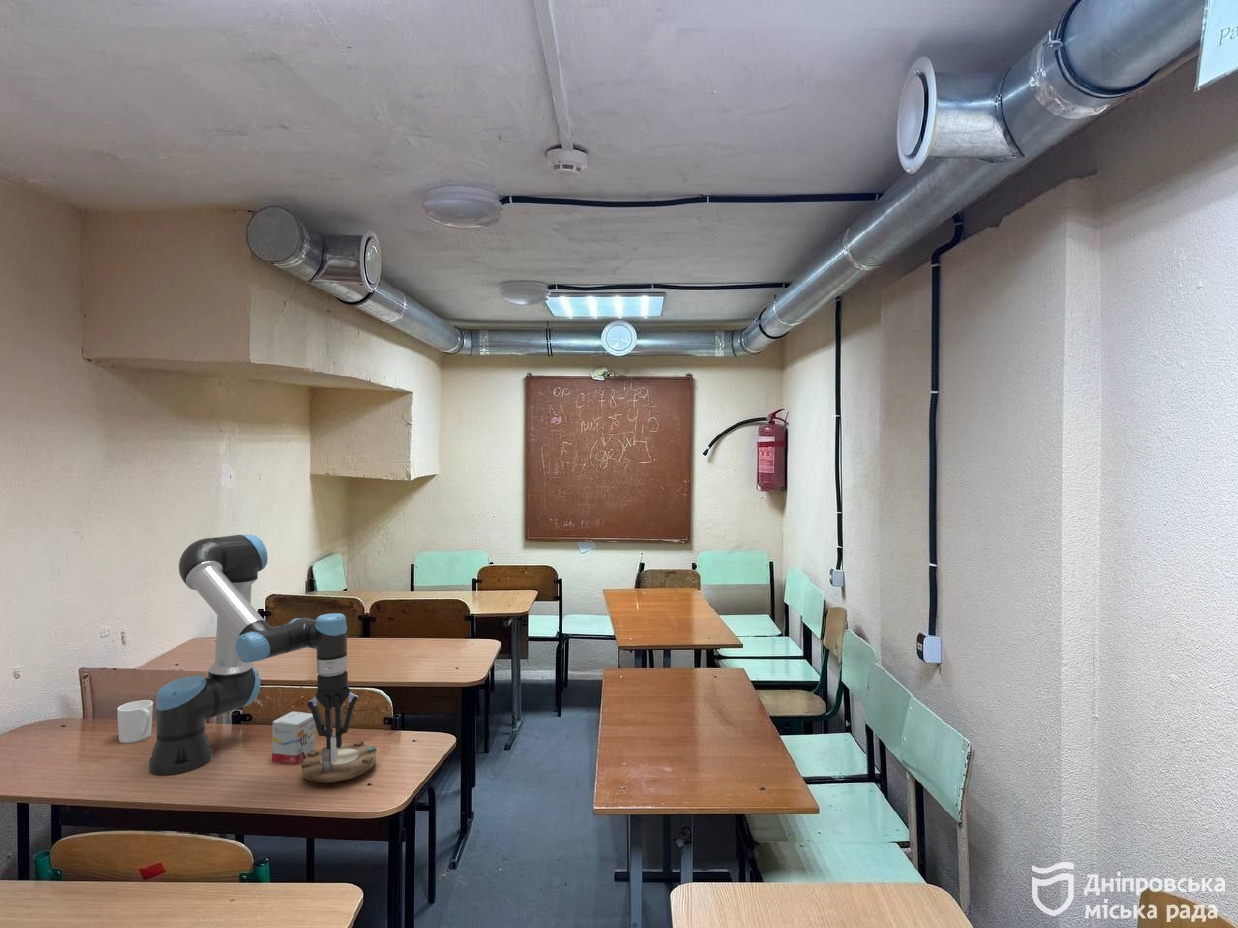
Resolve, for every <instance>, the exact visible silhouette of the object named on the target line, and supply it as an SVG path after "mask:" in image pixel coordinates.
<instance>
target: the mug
mask: <svg viewBox="0 0 1238 928" xmlns="http://www.w3.org/2000/svg"><path fill="white" fill-rule="evenodd" d="M153 707H154V701H152V700H149V699H148V700H147V699H143V700H136V701H135V700H134V701H130V702H126V703H124V704H122V705H120V706H118V707H117V708H116V709H117V711H116V712H117V726H118V728H117V730H118V742H119V743H120V744H122V745H123V744H125V745H126V744H127V745H128V744H135V743H139V742H142V741H146V740H147V739H149V738H150V737H151V736H152V725H153V709H154V708H153Z"/></svg>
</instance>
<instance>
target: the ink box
mask: <svg viewBox="0 0 1238 928" xmlns="http://www.w3.org/2000/svg"><path fill="white" fill-rule="evenodd" d="M271 726H272V733H271V735H272V736H271V738H272V739H271V762H272V763H280V764H290V765H298V764H299V763H301V762H303V761H304V759H305V758H306V757H308V756H307V753H308V752H310V751H312V750H314V751H316V724H315V721H314V718H313V715H312V712H310V713H309V712H301V711H290V712H288V713H287V714H284V715H283V716H281V717H279V718H277V719H275V720H273V721H272V725H271Z"/></svg>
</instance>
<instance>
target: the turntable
mask: <svg viewBox="0 0 1238 928" xmlns="http://www.w3.org/2000/svg"><path fill="white" fill-rule="evenodd" d="M376 752H377V746H376V745H373V746H370V745H368V744H364V740H359V739H358V740H356V741H354V742H352V743H342V745H341V747H340V748H338V759H337V761H336V762H331V749H327V746H324V747H323V748H320V749H319V750H315V751H314V750H312V751H310V752H308V753H307V756H308V757H306V758H305V759H304V760H302V761H301V762H300V767H301V775H302V776H303V777H304V778H305V779H306V780H309V781H312V782H317V783H324V782H335V781H341V780H346V779H350V778H352V779H354V778H356V777H358V776H361V775H362V774H364V773H366V772H368V771H369V770H370V769H372V768H373V766H375V763H376V761H377V753H376ZM353 777H354V778H353ZM350 780H351V779H350Z"/></svg>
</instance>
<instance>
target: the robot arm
mask: <svg viewBox="0 0 1238 928" xmlns="http://www.w3.org/2000/svg"><path fill="white" fill-rule="evenodd" d="M267 564H268V551H267V548H266V545H265V544H264V543H263V540H262V539H261V538H260V537H258V536H257V535H254V534H234V535H225V536H224V535H223V536H219V537H218V536H217V537H205V538H201V539H198V540H196V541H194V542H192V543H191V544H189V545H188V546H187V547H186V548H185V550H184V551H183V552H182V554H181V556H180V558H179V562H178V573H179V576H180V579H181V580H182V581H183V583H184V584H185V585H186V586H187V588H189V589H190V590H193V591H196V592H197V593H198V594H199V595H200V596H201V597H202V599H203V600H204V601H205V602H206V603H207V605H208V606H209V607H210V608H211V609H212V610H213V611H214V613H215V614H216V616H217V617H216V619H217V620H216V632H215V633H216V635H215V651H214V653H215V654H214V657H215V658H214V663H213V664H212V665H210V667H208V674H207V677H204V676H203V675H198V674H197V675H189V676H187V677H186V676H184V677H181V678H177V679H174V680H171V681H169V682H168V683H167V682H166V684H164V685H163V686H161V688H160V689H159V690H158V692H157V693H156V694H157V696H156V703H155V708H156V742H155V743H154V747H153V749H152V753H151V756H150V758H149V760H148V772H149V773H151V774H153V775H157V776H172V775H178V774H182V773H186V772H190V771H192V770H195V769H198V768H200V767H203V766H204V765H205V764H207V763H209V762H210V761H211V759H212V758H213V748H212V745H211V744H210V741H209V737H208V734H207V733H206V720H208V719H211V718H215V717H217V716H220V715H223V714H226V713H230V712H233V711H238V710H241V709H242V708H244V707H247V706H249V705H250V704H252V703H253V702H255V700H256V699H257V698H258V695H259V693H260V690H261V677H259V676H260V673H259V671H258V670H257V669H256V668H255V667H254V666H253V663H255V662H260V661H264V660H266V659H269V658H273V657H277V656H279V655H283V654H288V653H292V652H296V651H300V650H301V649H306V648H307V649H315V650H316V670H317V671H316V673H317V674H318V675H317V678H316V679H317V683H316V684H317V691H316V694H315V696H314V697H313V698H310V699H309V700H308V702H307V703H306V707H308V708H309V710H310V712H311V714H312V715H313V718H314V721H315V724H316V727H315V729H316V730H317V733H318V736H319V737H325V739H326V746H325V747H327V749H331V762H336V761H337V759H338V748H340V747H341V745H342V744H343V738H342V737H343V735H344V734H346V733H348V731H349V729H350V725H351V720H352V716H353V712H354V708H355V704H356V703H357V701H358V699H359V694H357V693H356V694H354V693H352V692H351V690H350V689H351V688H350V687H349V681H348V680H349V677H348V675H349V674H348V670H347V669H348V667H349V666H348V637H347V636H348V626H347V618H346V615H345V614H344V613H338V612H336V613H335V612H334V613H333V612H331V613H325V614H322V615H319V616H317V617H316V619H313V618H308V617H302V618H301V617H300V618H299V617H298V618H297V617H296V618H294V619H292V620H290V621H289V622H288V623H285V624H280V625H276V626H271V625H270V624H269V623H268V622H267V621H266V620H265V619H264V617H262V616H261V614H260V613H259V612H258V611H257V610H256V609H255V607H253V605H252V604H251V603H252V601H251V600H252V587H253V586H252V585H253V584H254V583H255V582H256V581H257V580H258V577H259V575H258V574H259V572H261V571H262V570H264V569H265V568H266V566H267ZM347 699H348V700H347ZM346 700H347V701H348V703H349V705H348V707H347V712H346V716H345V720H344V724H343V719H342V717H343V715H342V713H343V711H342V710H343V709H342V707H343V704H344V703H345V701H346ZM319 703H320V705H322V706H323V708H324V716H325V718H324V719H325V724H324V721H323V718H322V715H321V711H320V708H319V706H318V704H319ZM333 708H334V712H335V713H334V714H335V715H334V716H335V718H334V720H335V721H334V722H335V733H334V732H333V731H334V730H333V711H332V709H333Z"/></svg>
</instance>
